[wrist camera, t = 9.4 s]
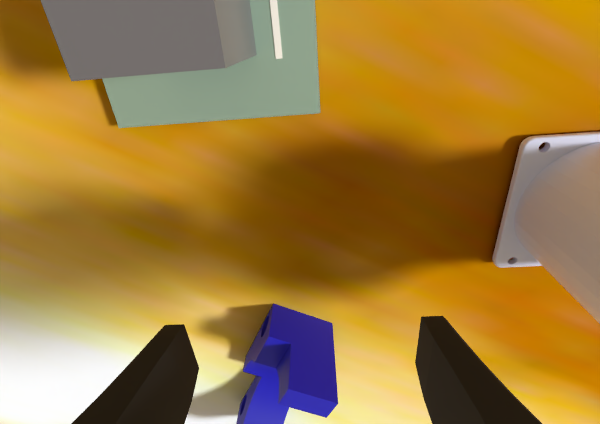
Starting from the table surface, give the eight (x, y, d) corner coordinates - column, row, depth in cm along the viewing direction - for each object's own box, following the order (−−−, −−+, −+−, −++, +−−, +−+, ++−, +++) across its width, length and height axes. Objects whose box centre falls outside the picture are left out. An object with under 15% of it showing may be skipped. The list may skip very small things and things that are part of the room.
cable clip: (273, 301, 23) (262, 381, 18) (332, 321, 24) (337, 403, 18) (224, 396, 28) (204, 479, 23) (273, 410, 29) (264, 493, 24)
